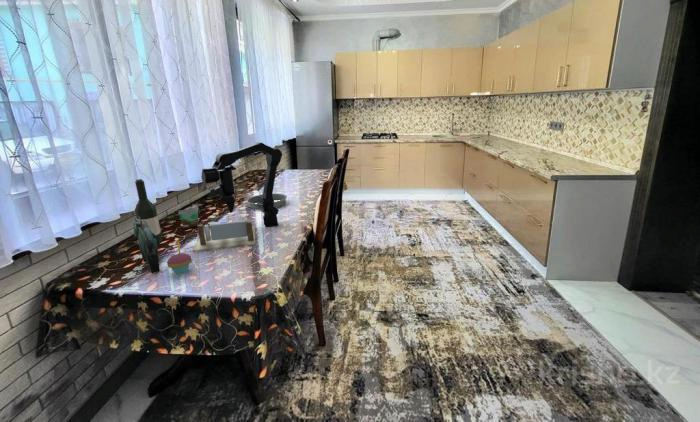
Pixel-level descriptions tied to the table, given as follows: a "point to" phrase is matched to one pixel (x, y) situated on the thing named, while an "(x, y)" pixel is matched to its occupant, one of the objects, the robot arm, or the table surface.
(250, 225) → the latch post
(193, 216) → the food container
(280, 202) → the cake pan
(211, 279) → the table surface
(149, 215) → the wine bottle
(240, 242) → the base board
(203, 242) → the hinge post
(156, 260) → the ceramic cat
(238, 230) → the gate
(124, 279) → the table surface
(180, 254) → the cupcake
